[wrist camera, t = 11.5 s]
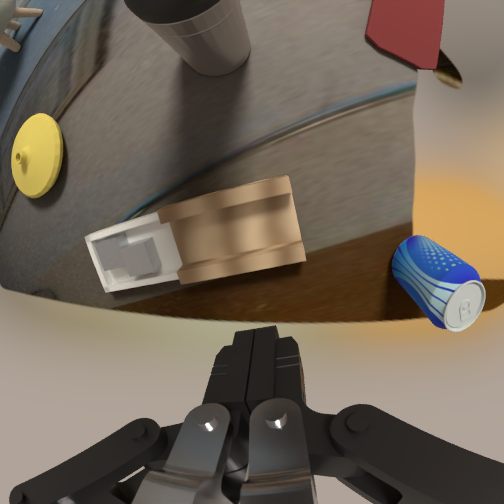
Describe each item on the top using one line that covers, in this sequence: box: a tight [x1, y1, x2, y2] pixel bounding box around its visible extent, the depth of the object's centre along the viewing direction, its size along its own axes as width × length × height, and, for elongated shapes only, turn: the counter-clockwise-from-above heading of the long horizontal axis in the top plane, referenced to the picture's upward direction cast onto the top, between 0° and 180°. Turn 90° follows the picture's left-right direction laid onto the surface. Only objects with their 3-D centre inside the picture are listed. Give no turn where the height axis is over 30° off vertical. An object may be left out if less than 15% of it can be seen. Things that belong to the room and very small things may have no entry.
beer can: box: [392, 235, 485, 332], centre depth 30 cm, size 8×8×16 cm
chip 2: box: [119, 237, 162, 277], centre depth 38 cm, size 4×4×3 cm
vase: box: [12, 113, 63, 198], centre depth 33 cm, size 16×16×7 cm
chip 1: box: [95, 233, 129, 271], centre depth 39 cm, size 4×4×3 cm
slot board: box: [157, 175, 306, 285], centre depth 37 cm, size 18×11×4 cm, turn 104°
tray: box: [85, 212, 183, 292], centre depth 40 cm, size 15×10×3 cm, turn 104°
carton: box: [365, 0, 445, 70], centre depth 23 cm, size 12×5×25 cm
